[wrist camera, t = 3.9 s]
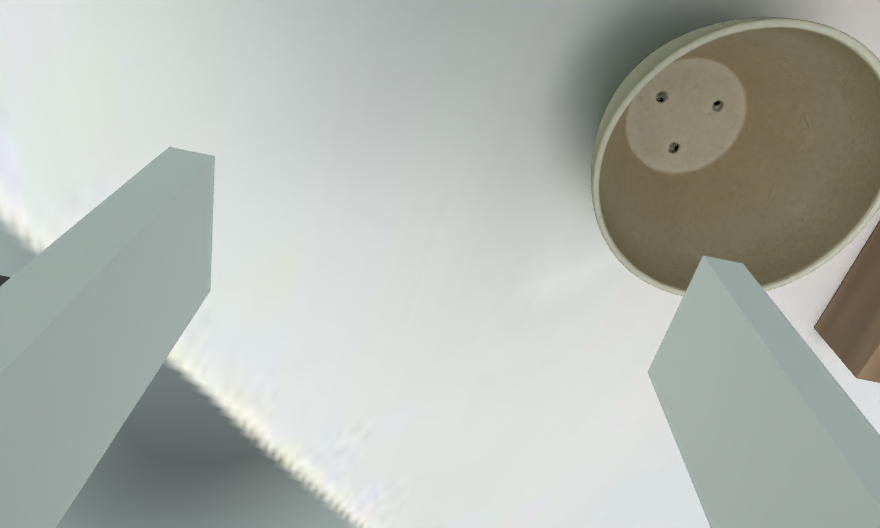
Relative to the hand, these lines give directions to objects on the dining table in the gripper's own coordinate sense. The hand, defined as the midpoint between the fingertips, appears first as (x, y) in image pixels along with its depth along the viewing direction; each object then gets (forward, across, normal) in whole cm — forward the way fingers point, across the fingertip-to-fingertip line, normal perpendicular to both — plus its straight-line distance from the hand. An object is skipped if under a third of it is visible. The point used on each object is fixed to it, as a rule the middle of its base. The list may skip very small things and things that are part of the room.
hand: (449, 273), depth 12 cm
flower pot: (+18, +10, 0) cm, 20 cm away
